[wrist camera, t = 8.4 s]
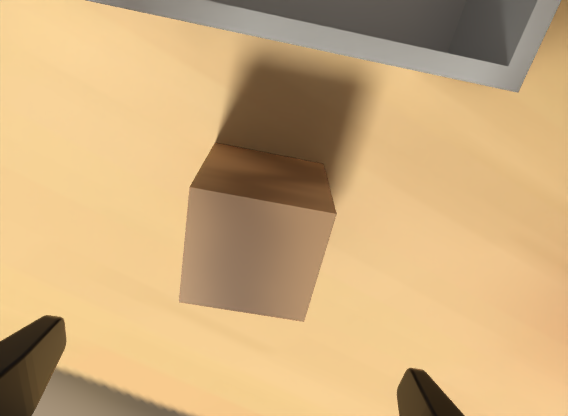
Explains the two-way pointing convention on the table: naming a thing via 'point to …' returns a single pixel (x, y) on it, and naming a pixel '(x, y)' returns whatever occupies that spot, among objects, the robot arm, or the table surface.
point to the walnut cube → (256, 232)
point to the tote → (388, 30)
